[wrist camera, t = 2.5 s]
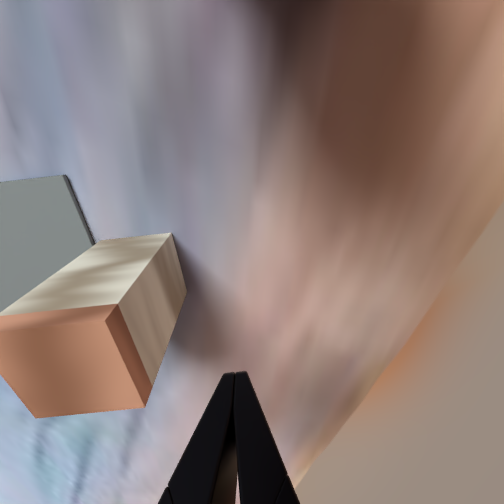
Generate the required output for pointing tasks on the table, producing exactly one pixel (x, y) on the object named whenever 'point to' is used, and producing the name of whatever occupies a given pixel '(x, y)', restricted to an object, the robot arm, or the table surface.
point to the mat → (37, 233)
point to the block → (94, 329)
